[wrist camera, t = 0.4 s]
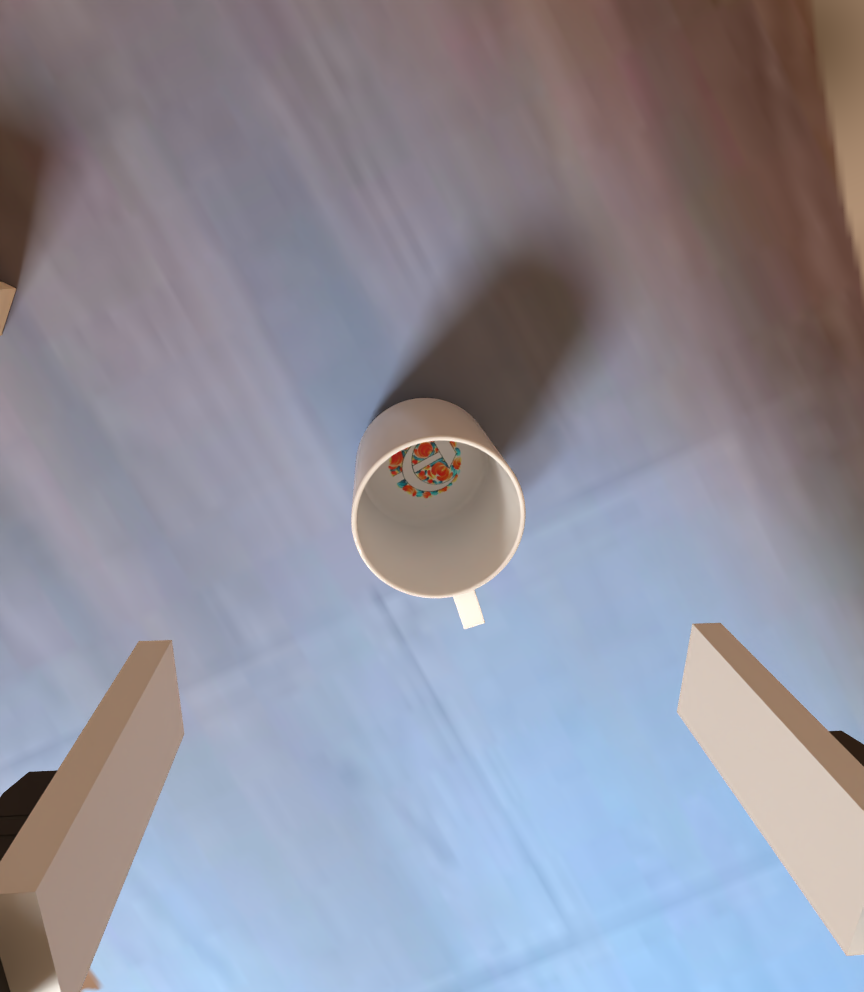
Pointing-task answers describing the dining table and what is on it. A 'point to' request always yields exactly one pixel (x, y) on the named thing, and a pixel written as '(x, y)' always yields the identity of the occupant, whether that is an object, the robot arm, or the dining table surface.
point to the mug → (435, 503)
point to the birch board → (5, 302)
